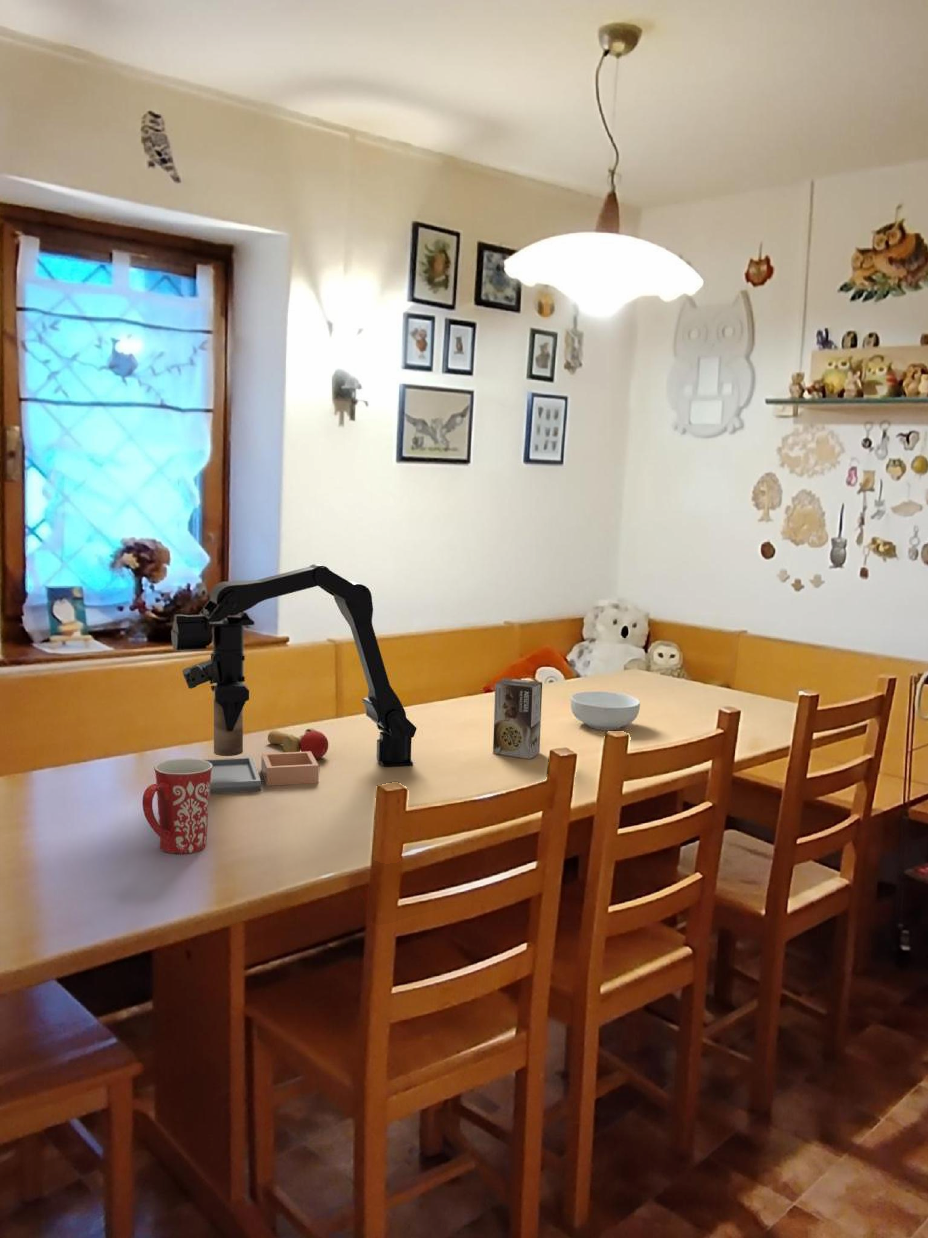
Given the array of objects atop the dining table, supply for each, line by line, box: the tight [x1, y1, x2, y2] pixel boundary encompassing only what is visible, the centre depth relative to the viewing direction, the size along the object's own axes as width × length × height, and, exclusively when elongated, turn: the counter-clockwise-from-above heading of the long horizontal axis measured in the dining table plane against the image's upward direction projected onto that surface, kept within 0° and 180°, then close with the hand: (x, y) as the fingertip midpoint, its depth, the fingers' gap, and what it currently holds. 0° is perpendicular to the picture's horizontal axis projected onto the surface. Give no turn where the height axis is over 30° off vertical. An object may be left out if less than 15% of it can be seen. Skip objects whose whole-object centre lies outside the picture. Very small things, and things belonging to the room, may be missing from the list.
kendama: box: [267, 727, 329, 760], centre depth 223 cm, size 8×6×18 cm
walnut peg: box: [213, 699, 244, 757], centre depth 201 cm, size 6×6×11 cm
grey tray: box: [200, 756, 262, 795], centre depth 202 cm, size 11×16×2 cm
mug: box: [142, 757, 213, 855], centre depth 165 cm, size 13×9×14 cm
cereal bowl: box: [570, 690, 641, 731], centre depth 255 cm, size 17×17×7 cm
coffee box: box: [492, 677, 543, 760], centre depth 227 cm, size 9×6×16 cm
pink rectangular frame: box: [260, 751, 320, 786], centre depth 206 cm, size 10×10×4 cm
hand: (228, 727), depth 201 cm, fingers closed on walnut peg, 5 cm apart
